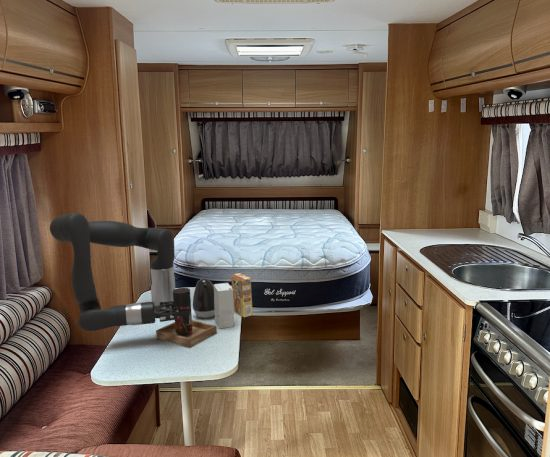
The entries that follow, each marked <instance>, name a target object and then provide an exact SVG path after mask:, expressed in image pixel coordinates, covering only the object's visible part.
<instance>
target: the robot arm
mask: <svg viewBox="0 0 550 457" xmlns="http://www.w3.org/2000/svg"><path fill="white" fill-rule="evenodd" d="M49 231H50V234H51V235H52V237H53V238H54V239H55V240H56V241H58V242H62V243H70V242H71V245H72V249H73V262H72V264H73V265H72V269H71V274H70V279H71V280H70V282H71V287H72V288H71V289H72V291H73V297H74V299H75V301H76V303H77V305H78V307H79V308H78V309H79V312H80V315H79V316H78V318H77V323H78V326H79V328H80V329H82V330H83V331H88V332H94V331H95V332H96V331H100V330H105V329H108V328H115V327H125V326H140V325H141V326H142V325H149V324H151V325H152V324H155V323H156V319H159V322H160V323H163V322H171V321H175V320H177V319H178V317H179V316H189V315H190V309H181V310H174V303H173V290H174V289H176V280H175V279H176V278H175V268H174V262H175V261H174V260H175V258H176V257H175V237H174V234H173V232H172V231H171V229H168V228H162V227H137V226H134V225H133V224H130V223H127V222H121V221H116V220H115V221H114V220H98V221H88V218H86V217H85V215H84V214H82V213H79V212H72V213H65V214H62V215H59V216H57V217H55V218H53V220H52V221H51V222H50V224H49ZM91 244H96V245H103V246H107V247H117V248H127V247H129V248H130V247H135V246H136V247H139V248H143V249H147V250H150V251H156V253H157V254H156V255H157V256H156V258H153V259H151V260H150V262H149V268H150V277H151V285H150V295H151V301H144V302H134V303H129V304H120V305H112V306H111V307H109V308H101V304H100V301H99V299H98V295H97V290H96V286H95V279H94V276H93V268H92V256H91V255H92V254H91Z"/></svg>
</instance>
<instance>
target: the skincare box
mask: <svg viewBox="0 0 550 457" xmlns="http://www.w3.org/2000/svg"><path fill="white" fill-rule="evenodd" d="M213 286H214V307H215V315H214V322H215V323H216V326H217V327H218V329H226V328H227V329H228V328H233V327H235V312H234V303H233V289H232V285H230V284H229V282H222V283H215V284H214V283H213Z"/></svg>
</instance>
